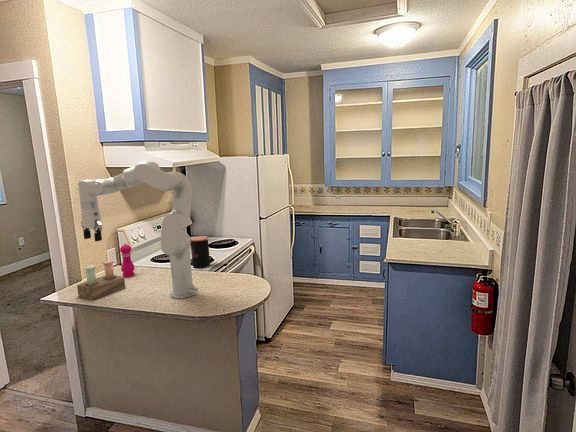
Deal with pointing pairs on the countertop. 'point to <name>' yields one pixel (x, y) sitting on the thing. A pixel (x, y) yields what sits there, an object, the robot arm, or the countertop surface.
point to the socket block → (101, 287)
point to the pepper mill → (127, 261)
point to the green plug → (90, 275)
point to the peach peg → (108, 269)
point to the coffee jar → (200, 252)
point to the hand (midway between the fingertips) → (92, 239)
